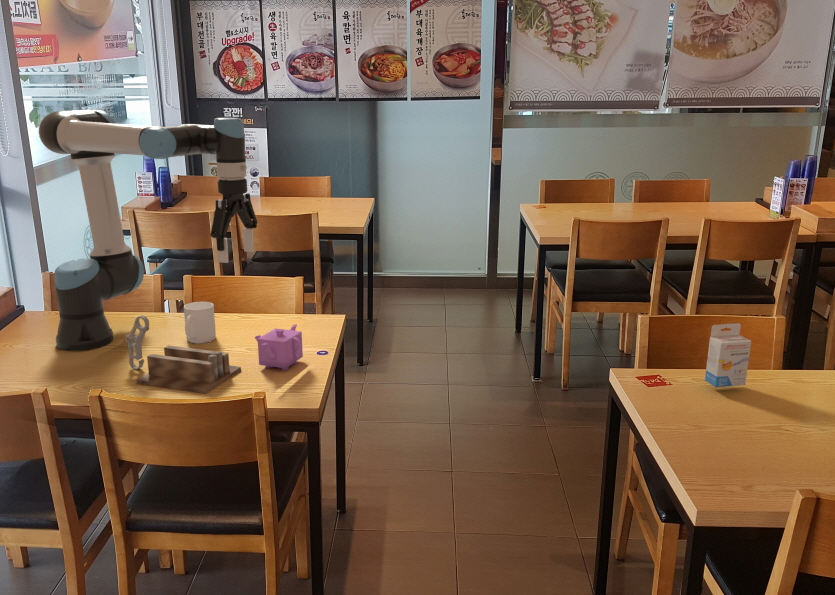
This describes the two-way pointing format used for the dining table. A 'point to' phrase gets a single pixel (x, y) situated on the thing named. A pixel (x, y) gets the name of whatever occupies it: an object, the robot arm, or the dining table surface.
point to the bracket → (137, 341)
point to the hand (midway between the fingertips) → (236, 256)
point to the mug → (199, 322)
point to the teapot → (280, 348)
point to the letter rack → (188, 369)
